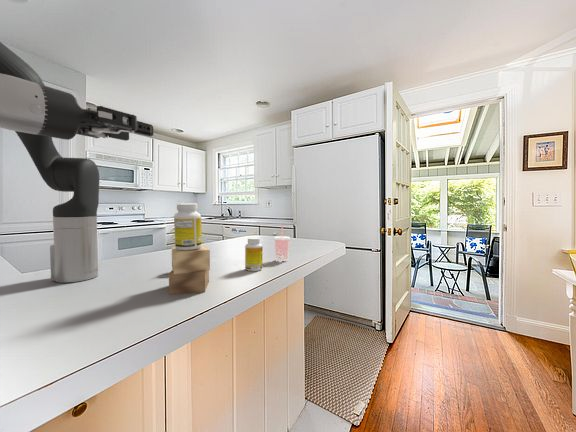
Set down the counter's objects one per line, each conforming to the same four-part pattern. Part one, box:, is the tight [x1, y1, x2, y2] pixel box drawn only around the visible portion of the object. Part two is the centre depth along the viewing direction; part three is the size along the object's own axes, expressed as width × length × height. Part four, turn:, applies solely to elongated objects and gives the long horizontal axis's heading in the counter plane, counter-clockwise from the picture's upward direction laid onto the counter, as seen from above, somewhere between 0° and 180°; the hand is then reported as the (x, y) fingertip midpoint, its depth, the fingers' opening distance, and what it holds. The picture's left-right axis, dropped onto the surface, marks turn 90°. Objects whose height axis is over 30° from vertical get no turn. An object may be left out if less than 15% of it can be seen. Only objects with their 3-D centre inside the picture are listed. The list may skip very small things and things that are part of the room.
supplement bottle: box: [244, 237, 264, 272], centre depth 80 cm, size 6×6×10 cm
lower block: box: [168, 269, 210, 295], centre depth 62 cm, size 8×8×5 cm
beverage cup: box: [273, 223, 291, 262], centre depth 93 cm, size 6×6×14 cm
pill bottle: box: [173, 202, 203, 251], centre depth 61 cm, size 6×6×11 cm
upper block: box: [171, 244, 211, 274], centre depth 62 cm, size 8×8×5 cm
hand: (139, 133), depth 52 cm, fingers open, 8 cm apart
